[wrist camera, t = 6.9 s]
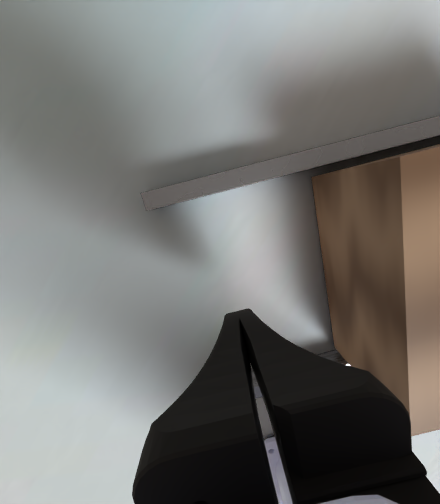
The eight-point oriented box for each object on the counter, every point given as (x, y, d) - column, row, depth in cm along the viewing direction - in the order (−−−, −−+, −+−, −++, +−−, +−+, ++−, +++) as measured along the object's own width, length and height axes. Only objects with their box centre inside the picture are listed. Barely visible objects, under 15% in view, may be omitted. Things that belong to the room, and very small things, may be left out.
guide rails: (464, 328, 17) (488, 340, 16) (211, 391, 17) (211, 409, 16) (473, 109, 13) (506, 98, 12) (148, 193, 14) (140, 192, 12)
